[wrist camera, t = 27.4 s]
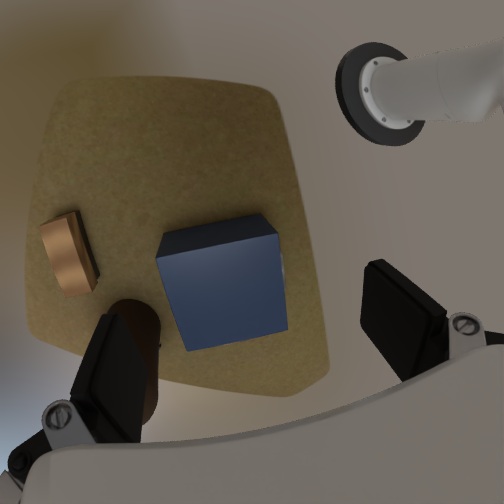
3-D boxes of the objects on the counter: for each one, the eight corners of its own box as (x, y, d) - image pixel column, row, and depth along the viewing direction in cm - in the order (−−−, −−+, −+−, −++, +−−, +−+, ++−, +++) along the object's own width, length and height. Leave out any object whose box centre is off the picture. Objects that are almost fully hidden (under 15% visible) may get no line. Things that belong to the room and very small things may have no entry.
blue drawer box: (269, 211, 40) (288, 230, 32) (279, 295, 45) (296, 327, 37) (163, 233, 38) (155, 258, 30) (187, 314, 44) (187, 351, 35)
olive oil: (93, 322, 41) (48, 445, 18) (125, 282, 40) (78, 417, 17) (141, 356, 45) (127, 481, 22) (177, 322, 44) (175, 461, 21)
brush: (53, 216, 34) (38, 226, 29) (79, 208, 34) (65, 217, 30) (76, 282, 38) (65, 297, 33) (101, 276, 39) (92, 292, 34)
